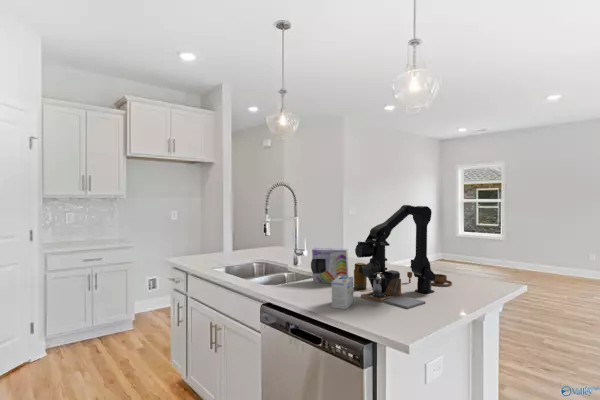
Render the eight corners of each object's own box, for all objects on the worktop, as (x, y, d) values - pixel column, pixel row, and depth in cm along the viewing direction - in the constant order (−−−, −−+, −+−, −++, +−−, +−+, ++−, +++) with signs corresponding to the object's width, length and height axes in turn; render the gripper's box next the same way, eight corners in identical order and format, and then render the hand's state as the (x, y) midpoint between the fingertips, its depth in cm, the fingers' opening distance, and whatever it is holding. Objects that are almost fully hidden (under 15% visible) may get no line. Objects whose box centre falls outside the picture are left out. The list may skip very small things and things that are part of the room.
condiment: (361, 286, 180) (361, 262, 180) (372, 289, 173) (372, 264, 173) (349, 288, 177) (349, 263, 177) (360, 291, 169) (360, 266, 169)
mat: (401, 297, 160) (401, 295, 160) (425, 303, 151) (425, 301, 151) (383, 302, 153) (383, 300, 153) (407, 308, 143) (407, 306, 143)
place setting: (445, 290, 174) (445, 278, 173) (405, 284, 186) (405, 272, 186) (456, 283, 187) (456, 272, 187) (418, 278, 200) (418, 267, 200)
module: (378, 295, 163) (377, 275, 163) (386, 297, 159) (386, 277, 159) (370, 297, 160) (370, 277, 160) (379, 299, 156) (379, 279, 156)
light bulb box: (338, 300, 155) (338, 275, 155) (353, 302, 153) (353, 276, 153) (331, 307, 145) (331, 280, 145) (347, 309, 143) (347, 282, 143)
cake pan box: (310, 282, 189) (310, 248, 189) (313, 280, 193) (313, 247, 193) (347, 285, 183) (347, 249, 182) (349, 282, 187) (349, 248, 187)
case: (381, 291, 169) (381, 274, 169) (401, 296, 161) (401, 278, 161) (360, 296, 161) (360, 278, 161) (380, 302, 152) (380, 283, 152)
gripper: (350, 255, 162) (350, 290, 162) (383, 261, 147) (383, 299, 148) (367, 252, 169) (367, 286, 169) (400, 258, 154) (400, 294, 154)
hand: (378, 291), depth 160 cm, fingers closed on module, 5 cm apart
